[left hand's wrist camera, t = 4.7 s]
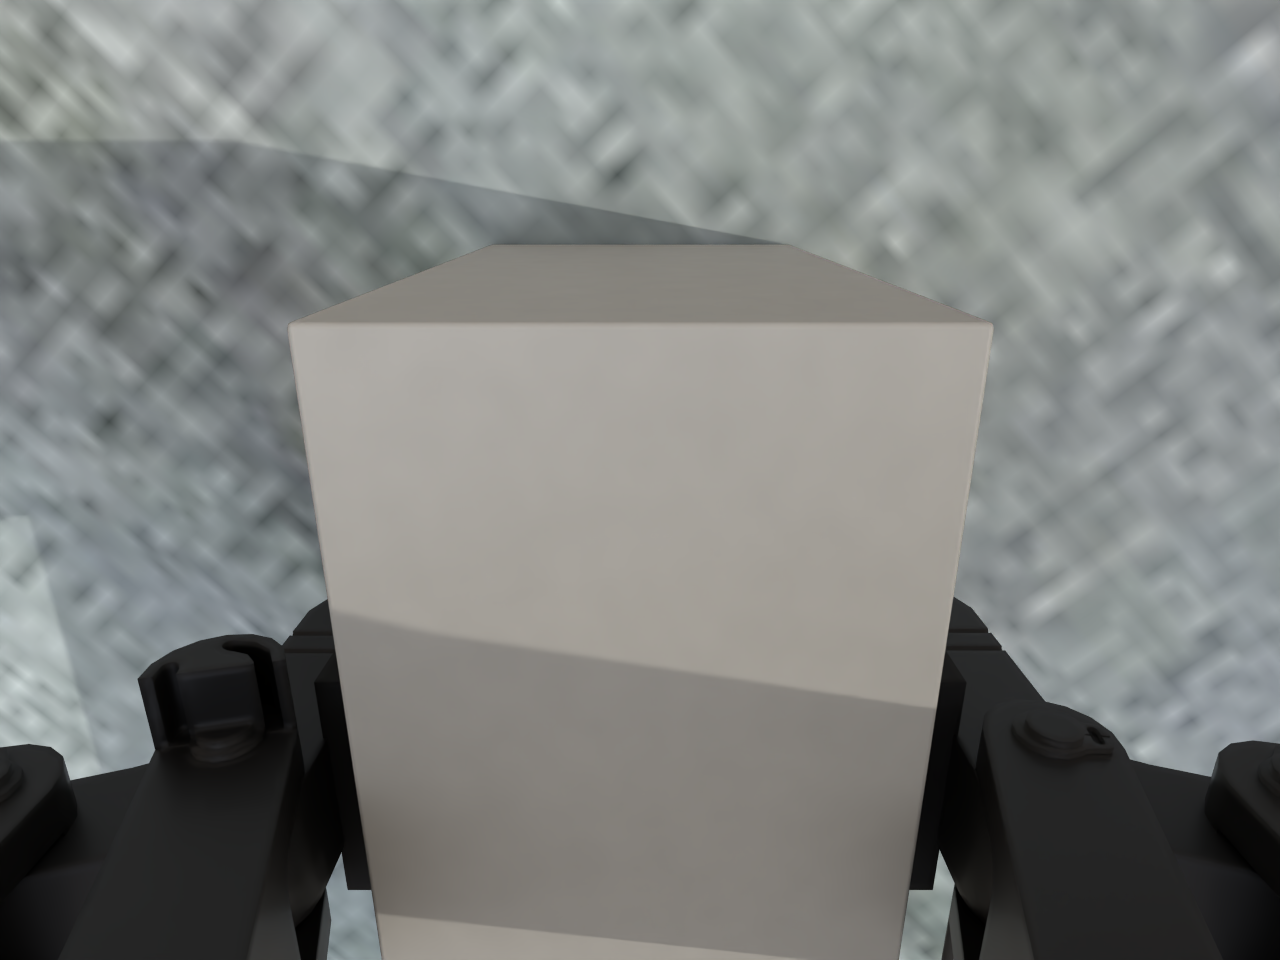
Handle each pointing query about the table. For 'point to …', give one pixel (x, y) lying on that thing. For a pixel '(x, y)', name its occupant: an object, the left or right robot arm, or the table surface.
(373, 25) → the table surface
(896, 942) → the beam
